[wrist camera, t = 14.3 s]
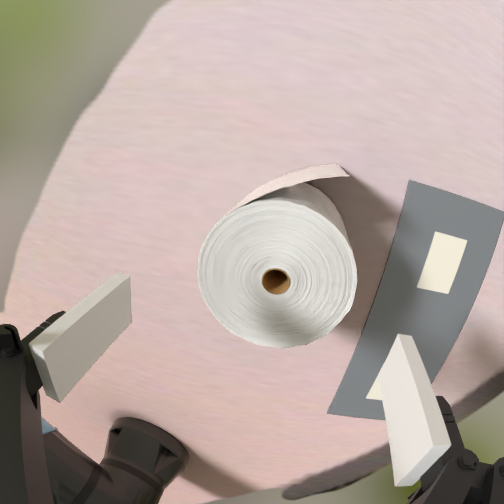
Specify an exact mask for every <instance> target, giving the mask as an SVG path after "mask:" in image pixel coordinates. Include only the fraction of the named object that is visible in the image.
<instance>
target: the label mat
mask: <svg viewBox="0 0 504 504" xmlns="http://www.w3.org/2000/svg"><path fill="white" fill-rule="evenodd" d="M503 220H504V212H503V211H500V210H498V209H495V208H492V207H490V206H487V205H484V204H482V203H479V202H476V201H473V200H471V199H468V198H465V197H462V196H459V195H456V194H453V193H450V192H447V191H444V190H441V189H437V188H434V187H431V186H428V185H424V184H421V183H418V182H414V181H411V180H409V183H408V187H407V191H406V195H405V200H404V204H403V208H402V212H401V215H400V219H399V223H398V227H397V230H396V234H395V237H394V241H393V244H392V248H391V251H390V254H389V258H388V261H387V264H386V267H385V270H384V273H383V276H382V279H381V282H380V285H379V288H378V291H377V294H376V297H375V300H374V303H373V305H372V308H371V311H370V314H369V316H368V319H367V322H366V324H365V327H364V329H363V332H362V334H361V337H360V340H359V342H358V344H357V347H356V349H355V352H354V354H353V357H352V359H351V361H350V364H349V366H348V368H347V370H346V373H345V375H344V377H343V379H342V382H341V384H340V386H339V388H338V390H337V393H336V395H335V397H334V399H333V401H332V403H331V405H330V407H329V409H328V411H327V414H333V415H341V416H349V417H357V418H367V419H378V420H386V418H385V413H384V407H383V401H382V396H381V391H380V386H379V381H378V375H379V373H380V371H381V369H382V367H383V365H384V363H385V361H386V359H387V357H388V355H389V352H390V350H391V348H392V346H393V344H394V341H395V339H396V337H397V335H398V334H403V335H410V336H412V338H413V340H414V342H415V345H416V347H417V350H418V352H419V354H420V357H421V359H422V362H423V364H424V367H425V370H426V372H427V375H428V377H429V380H430V383H431V384H432V382H433V380H434V379H435V377H436V375H437V374H438V372H439V370H440V368H441V367H442V365H443V363H444V361H445V360H446V358H447V356H448V354H449V352H450V351H451V349H452V347H453V345H454V343H455V341H456V339H457V337H458V335H459V333H460V331H461V329H462V327H463V325H464V323H465V321H466V319H467V317H468V314H469V312H470V310H471V308H472V306H473V303H474V301H475V299H476V296H477V294H478V292H479V289H480V287H481V284H482V282H483V279H484V277H485V274H486V272H487V269H488V266H489V263H490V261H491V258H492V255H493V252H494V249H495V246H496V243H497V240H498V237H499V234H500V230H501V227H502V223H503Z"/></svg>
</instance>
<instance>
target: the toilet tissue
mask: <svg viewBox="0 0 504 504" xmlns="http://www.w3.org/2000/svg"><path fill="white" fill-rule="evenodd" d="M338 176H350V175H347V174H346V173H345V172H344V170H343V169H342V168H341V167H340V166H338V164H327V165H317V166H312V167H309V168H305V169H301V170H298V171H294V172H291V173H288V174H285V175H283V176H280V177H278V178H275V179H273V180H271V181H270V182H268V183H266V184H264V185H262V186H260V187H259V188H257V189H255V190H253V191H252V192H251V193H250V194H249V195H247V196H246V197H245V198H244V199H243V200H242V201H240V202H239V203H238V204H237V205H236V206H234V207H233V208H232V209H231V210H230V211H229V212H228V213H227V214H226V215H225V216H223V218H222V219H221V220H220V221H219V222H218V223H217V224H216V225H215V226H214V227H213V228H212V230H211V231H210V233H209V234H208V236H207V237H206V239H205V240H204V243H203V245H202V248H201V250H200V253H199V259H198V266H197V271H198V283H199V287H200V290H201V294H202V296H203V298H204V301H205V303H206V305H207V307H208V308H209V310H210V311H211V312H212V314H213V315H214V317H215V318H216V319H217V320H218V321H219V322H220V323H221V324H222V325H223V326H224V327H225V328H226V329H227V330H228V331H230V332H231V333H232V334H234V335H237V336H239V337H241V338H243V339H245V340H247V341H249V342H251V343H254V344H256V345H261V346H269V347H278V348H289V347H294V346H298V345H307V344H309V343H310V342H312V341H314V340H316V339H319V338H321V337H323V336H326V335H327V334H328V333H329V332H330V331H331V330H332V329H333V328H334V327H335V326H336V325H337V324H339V323H340V322H341V320H342V319H343V318H344V316H345V315H346V314H347V313H348V312H349V311H350V309H351V306H352V304H353V300H354V296H355V291H356V286H357V269H356V261H355V258H354V255H353V249H352V247H351V245H350V242H349V238H348V235H347V232H346V229H345V226H344V223H343V221H342V218H341V215H340V213H339V212H338V210H337V208H336V207H335V205H334V204H333V202H332V201H331V200H330V199H329V198H328V197H327V196H326V195H325V194H324V193H322V192H321V191H320V190H319V189H317V188H315V187H313V186H311V185H309V184H306V183H303V182H306V181H310V180H314V179H319V178H331V177H338Z"/></svg>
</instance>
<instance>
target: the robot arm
mask: <svg viewBox="0 0 504 504" xmlns="http://www.w3.org/2000/svg"><path fill="white" fill-rule="evenodd" d="M131 322H132V313H131V289H130V276H129V275H126V274H122V273H118V272H117V273H116V274H115V275H113V276H112V277H111V278H109V279H108V280H107V281H105V282H104V283H103V284H101V285H100V286H99V287H98V288H96V289H95V290H94V291H92V292H91V293H90V294H89V295H87V296H86V297H85V298H84V299H82V300H81V301H80V302H78V303H77V304H76V305H75V306H73V307H72V308H71V309H70V310H69V311H67V312H65V311H61V312H58V313H56V314H53V315H52V316H51V317H49V318H48V319H47V320H46V321H45V322H43V323H42V324H41V325H40V326H39V327H37V328H36V329H35V330H33V331H32V332H31V333H30V334H28V335H27V336H26V337H25V338H24V339H22V340H20V337H19V333H18V330H17V328H16V327H15V326H13V325H11V324H2V325H0V504H158V503H159V500H160V498H161V496H162V494H163V492H164V490H165V488H166V487H167V486H168V485H169V484H170V483H171V482H172V481H173V480H174V479H175V478H176V477H177V476H178V475H179V474H180V473H181V472H182V471H183V470H184V469H185V466H186V464H187V461H188V454H187V451H186V450H185V448H184V447H183V446H182V445H181V444H180V443H179V442H178V441H177V440H176V439H175V438H173V437H172V436H171V435H169V434H168V433H166V432H165V431H163V430H161V429H160V428H158V427H156V426H154V425H152V424H149V423H147V422H144V421H141V420H138V419H134V418H119V419H117V420H116V421H115V422H114V424H113V425H112V427H111V428H110V430H109V434H108V439H107V444H106V450H105V455H104V458H103V460H102V461H101V463H100V464H97V463H96V462H95V461H94V460H92V459H91V458H90V457H88V456H87V455H86V454H85V453H83V452H82V451H81V450H80V449H78V448H77V447H76V446H75V445H74V444H72V443H71V442H70V441H69V440H68V439H67V438H65V437H64V436H63V435H62V434H61V433H60V432H59V431H57V430H58V429H57V428H56V427H53V426H52V425H51V424H49V423H48V422H47V421H46V420H45V419H44V418H43V417H41V407H40V394H39V391H38V390H39V389H40V388H41V387H42V386H43V388H44V390H45V393H46V395H47V396H49V397H51V398H52V399H54V400H56V401H58V402H59V403H60V402H61V401H62V400H63V399H64V398H65V396H66V395H67V394H68V393H69V392H70V391H71V389H72V388H73V387H74V386H75V385H76V384H77V382H78V381H79V380H80V379H81V378H82V377H83V376H84V374H85V373H86V372H87V371H88V370H89V369H90V368H91V366H92V365H93V364H94V363H95V362H96V361H97V360H98V359H99V357H100V356H101V355H102V354H103V353H104V352H105V351H106V350H107V349H108V347H109V346H110V345H111V344H112V343H113V342H114V341H115V340H116V339H117V337H118V336H119V335H120V334H121V333H122V332H123V331H124V330H125V329H126V328H127V327H128V325H129V324H130V323H131ZM378 381H379V386H380V391H381V396H382V401H383V407H384V413H385V418H386V424H387V430H388V437H389V443H390V450H391V457H392V465H393V473H394V481H395V486H412V485H413V484H414V483H415V482H416V481H418V480H419V479H420V480H421V487H419V488H418V489H417V490H416V491H415V492H414V493H413V494H411V495H410V496H409V497H408V499H410V500H409V502H408V503H407V504H504V457H502V458H500V459H498V460H497V461H496V462H495V463H494V464H493V465H491V464H486V463H482V462H479V459H478V458H477V456H476V454H474V453H473V452H472V451H470V450H468V449H465V448H464V445H463V442H462V439H461V436H460V433H459V430H458V427H457V424H456V423H455V418H454V416H453V413H452V410H451V408H450V405H449V404H448V402H447V401H446V400H445V399H444V397H443V396H435V394H434V391H433V388H432V385H431V383H430V380H429V377H428V375H427V372H426V370H425V367H424V364H423V362H422V359H421V357H420V354H419V352H418V350H417V347H416V345H415V342H414V340H413V338H412V336H410V335H403V334H398V335H397V337H396V339H395V341H394V344H393V346H392V348H391V350H390V352H389V355H388V357H387V359H386V361H385V363H384V365H383V367H382V369H381V371H380V373H379V375H378Z"/></svg>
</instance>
